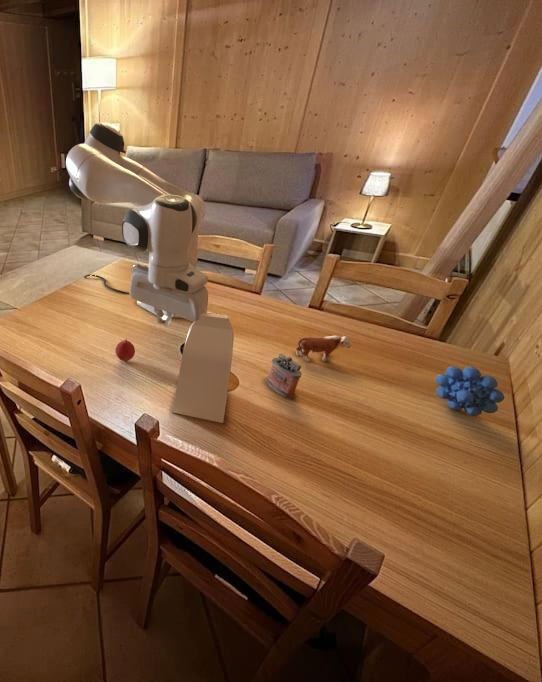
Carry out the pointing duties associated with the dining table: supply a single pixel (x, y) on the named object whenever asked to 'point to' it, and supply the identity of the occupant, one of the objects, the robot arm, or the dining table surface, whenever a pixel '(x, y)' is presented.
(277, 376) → the red grey filled tin
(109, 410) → the dining table surface
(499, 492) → the dining table surface
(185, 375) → the milk
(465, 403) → the grapes
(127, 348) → the onion
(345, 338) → the bull figurine
